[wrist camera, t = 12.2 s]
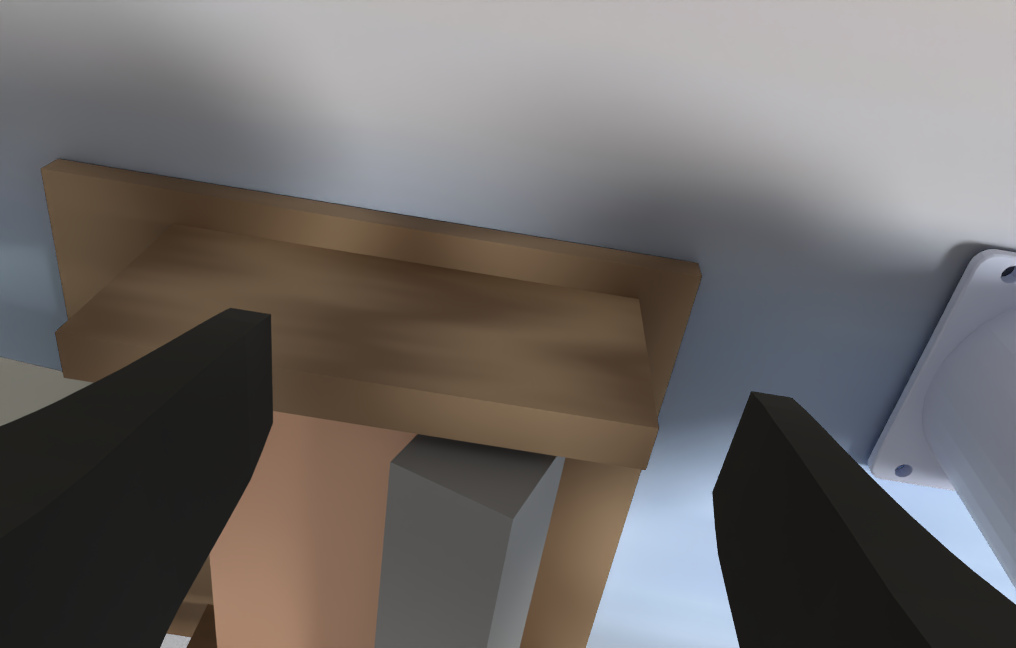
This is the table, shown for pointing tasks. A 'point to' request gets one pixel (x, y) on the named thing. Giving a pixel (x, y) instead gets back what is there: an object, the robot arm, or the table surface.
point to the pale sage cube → (31, 388)
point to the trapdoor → (381, 541)
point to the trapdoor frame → (393, 339)
